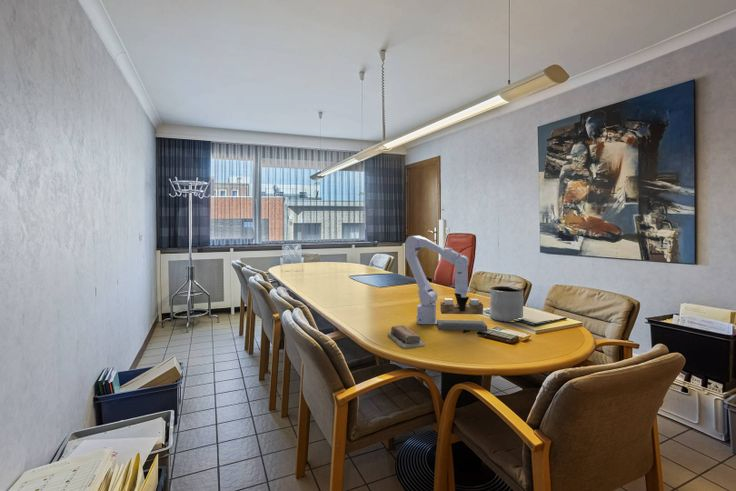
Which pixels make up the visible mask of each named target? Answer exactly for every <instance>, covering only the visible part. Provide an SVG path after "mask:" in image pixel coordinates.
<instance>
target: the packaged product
mask: <svg viewBox="0 0 736 491" xmlns="http://www.w3.org/2000/svg"><path fill="white" fill-rule="evenodd" d="M387 337H389V338H390V339H391V340H392V341H393V342H394V343H396V344H397V345H399V347H401V348H402V349H411V348H417V347H419V348H420V347H425V346H426V343H424V341H422V340H421V336H420V335H418V334H417V333H415V332H414V331H412V330H411V329H410V328H408V327H407V326H405V325H395V326H394V325H393V326H392V327H391V331H390V332H388V333H387Z"/></svg>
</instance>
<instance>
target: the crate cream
mask: <svg viewBox="0 0 736 491" xmlns="http://www.w3.org/2000/svg"><path fill="white" fill-rule="evenodd" d="M443 300H444V301H443V302H444V305H453V304H454V299H453V298H452V297H451V298H450V297H444V299H443Z"/></svg>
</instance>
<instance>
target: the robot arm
mask: <svg viewBox="0 0 736 491" xmlns="http://www.w3.org/2000/svg"><path fill="white" fill-rule="evenodd" d="M404 246H405V249H404V250H405V251H404V254H405V255H404V256H405V259H406V260H407V263H408V267H409V268H410V270H411V273H412V275H413V277H414V280H415V282H416V284H417V286H418V292H417V293H418V298H419V302H420V304H417V306H416V309H417V310H416V311H417V312H416V313H417V314H416V320H417V321H416V323H417V324H418V325H437V315H436V314H437V303H436V301H437V300H438V297H439V296H438V293H437V291H435V290H434V288H433V287H432V285H430V284H429V281H428V279H427V277H426V274H425V272H424V270H423V268H422V265H421V262H420V260H419V258H418V253H419V251H420V249H422V248H426V249H429V250H431V251H433V252H435V253H437V254H439V255H440V257H441V258H440V259H443V260H445V261H446V262H449V263H450V264H452V265H453V266H454V267H455V271H454V272H455V273H454V274H455V278H454V280H455V281H454V282H455V284H454V292H455V293H454V297H455V299H456V304H459V310H460V311H465V307H466V304H468V300H470V297H469V296H467V294H468V293H471V290H470V289H468V286H469V285H468V282H469V278H468V277H469V274H468V273H469V272H468V269H469V267H468V266H469V265H470V258H469V257H468V256H466V255H465V254H462V253H461V252H456V251H455V250H453V248H452V247H444V248H443V247H442V246H440V245H438V244H437V243H436V242H433V241H432V240H429V239H428V238H427V237H424V236H422V235H419V234H418V235H409V236H408V237H407V238H406V240H405V242H404Z"/></svg>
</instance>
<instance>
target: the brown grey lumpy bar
mask: <svg viewBox="0 0 736 491" xmlns="http://www.w3.org/2000/svg"><path fill="white" fill-rule="evenodd" d="M440 314H442V315H484V304H483V302H482V301H479V305H471V304H470V302H468V303H466V307H465V311H460V310H459V304H457V303H453V305H444V301H441V300H440Z"/></svg>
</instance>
